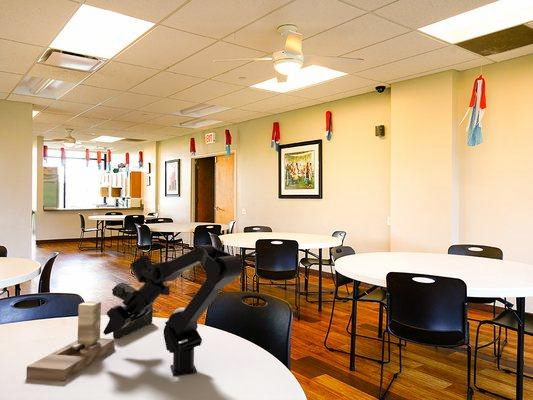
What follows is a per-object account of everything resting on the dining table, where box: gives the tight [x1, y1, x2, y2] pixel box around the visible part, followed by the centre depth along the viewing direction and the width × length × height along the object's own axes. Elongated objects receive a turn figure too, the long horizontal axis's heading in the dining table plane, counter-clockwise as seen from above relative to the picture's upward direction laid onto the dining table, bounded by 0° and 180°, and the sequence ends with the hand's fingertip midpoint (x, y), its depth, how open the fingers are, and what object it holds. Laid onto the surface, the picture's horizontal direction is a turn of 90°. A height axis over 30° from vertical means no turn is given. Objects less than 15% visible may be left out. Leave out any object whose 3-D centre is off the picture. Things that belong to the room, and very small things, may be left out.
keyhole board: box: [25, 337, 116, 383], centre depth 116 cm, size 24×11×3 cm, turn 171°
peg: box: [77, 300, 102, 355], centre depth 123 cm, size 5×5×15 cm
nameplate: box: [112, 303, 154, 340], centre depth 147 cm, size 21×2×10 cm, turn 163°
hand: (112, 329), depth 122 cm, fingers open, 9 cm apart
